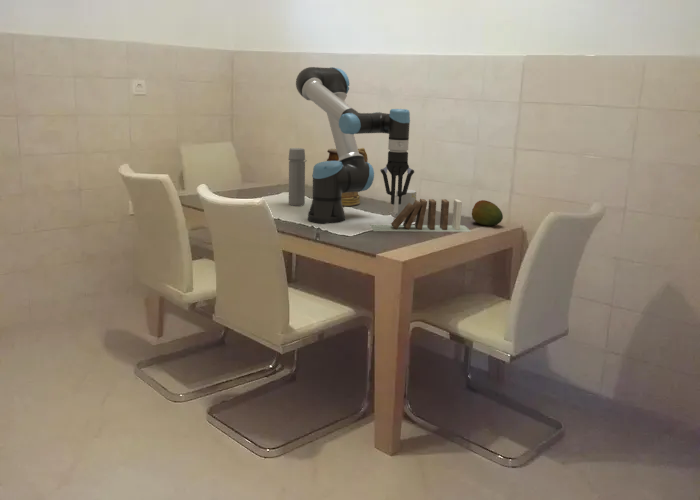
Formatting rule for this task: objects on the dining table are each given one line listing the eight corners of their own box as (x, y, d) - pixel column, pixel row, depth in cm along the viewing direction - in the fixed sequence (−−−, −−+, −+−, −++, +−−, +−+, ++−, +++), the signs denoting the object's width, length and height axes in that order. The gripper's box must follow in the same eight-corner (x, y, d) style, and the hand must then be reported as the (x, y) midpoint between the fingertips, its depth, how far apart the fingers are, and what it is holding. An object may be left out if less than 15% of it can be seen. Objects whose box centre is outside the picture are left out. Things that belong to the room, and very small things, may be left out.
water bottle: (284, 204, 306) (285, 148, 300) (300, 202, 310) (300, 147, 304) (294, 207, 299) (295, 150, 292) (310, 206, 303) (311, 149, 297)
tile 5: (442, 229, 262) (444, 201, 259) (439, 227, 267) (441, 199, 264) (447, 229, 262) (449, 201, 259) (444, 227, 267) (446, 199, 264)
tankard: (312, 201, 314) (313, 147, 308) (353, 197, 327) (355, 145, 321) (334, 208, 300) (335, 151, 294) (376, 204, 313) (378, 149, 307)
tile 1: (392, 226, 260) (411, 204, 258) (390, 223, 264) (409, 202, 263) (396, 229, 260) (415, 207, 259) (394, 226, 265) (412, 205, 263)
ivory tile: (455, 229, 262) (457, 201, 260) (452, 227, 267) (454, 199, 265) (459, 229, 263) (461, 201, 260) (456, 227, 267) (458, 199, 265)
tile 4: (430, 229, 261) (431, 201, 259) (427, 226, 266) (428, 199, 264) (434, 229, 262) (436, 201, 259) (431, 226, 266) (433, 199, 264)
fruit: (474, 221, 282) (476, 197, 280) (504, 224, 278) (506, 200, 275) (467, 226, 272) (469, 201, 269) (499, 229, 267) (501, 204, 265)
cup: (413, 222, 276) (415, 193, 273) (393, 221, 277) (395, 191, 274) (415, 218, 284) (417, 190, 281) (396, 217, 285) (398, 188, 282)
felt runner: (373, 232, 257) (373, 230, 257) (369, 225, 267) (369, 224, 267) (471, 232, 261) (471, 231, 261) (464, 226, 271) (464, 225, 271)
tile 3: (417, 229, 261) (422, 201, 258) (414, 226, 266) (420, 198, 263) (421, 229, 261) (427, 201, 259) (419, 226, 266) (424, 199, 263)
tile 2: (405, 227, 260) (418, 202, 258) (402, 224, 265) (415, 199, 263) (409, 229, 261) (422, 204, 259) (406, 226, 265) (419, 201, 263)
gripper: (382, 151, 251) (380, 214, 256) (417, 152, 252) (414, 214, 258) (379, 149, 258) (377, 210, 264) (413, 150, 259) (410, 211, 265)
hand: (395, 212), depth 261 cm, fingers closed
